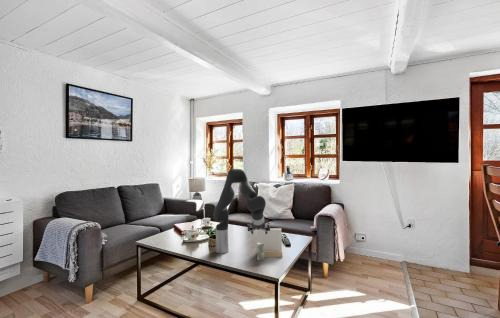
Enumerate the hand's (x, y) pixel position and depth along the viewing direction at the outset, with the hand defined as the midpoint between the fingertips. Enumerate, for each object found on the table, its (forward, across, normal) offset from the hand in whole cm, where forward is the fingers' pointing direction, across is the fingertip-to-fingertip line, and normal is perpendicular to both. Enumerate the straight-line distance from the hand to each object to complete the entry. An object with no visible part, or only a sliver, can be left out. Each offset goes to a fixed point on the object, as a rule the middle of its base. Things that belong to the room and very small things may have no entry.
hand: (259, 233), depth 164 cm
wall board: (+30, -6, +1) cm, 30 cm away
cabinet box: (+24, 0, +7) cm, 25 cm away
